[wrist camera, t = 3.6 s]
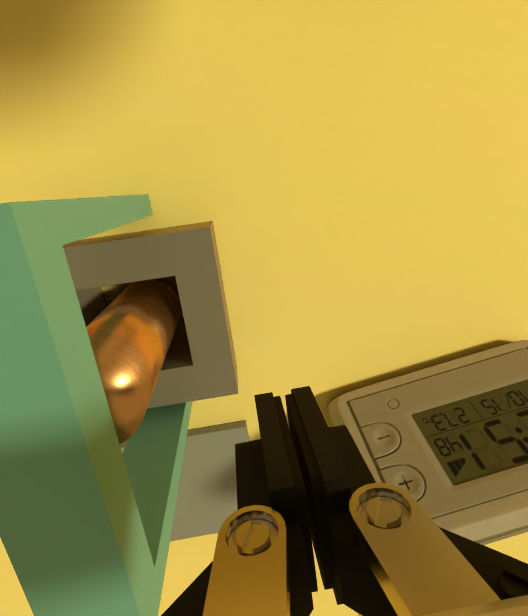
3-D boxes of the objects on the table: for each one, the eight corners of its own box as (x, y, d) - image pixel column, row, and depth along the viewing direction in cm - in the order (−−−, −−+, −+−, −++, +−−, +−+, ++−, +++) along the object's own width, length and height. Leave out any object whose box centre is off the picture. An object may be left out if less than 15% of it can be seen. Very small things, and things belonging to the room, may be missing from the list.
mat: (245, 420, 29) (246, 426, 28) (261, 516, 31) (262, 524, 31) (109, 443, 28) (106, 450, 28) (137, 538, 31) (135, 547, 30)
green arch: (148, 194, 23) (9, 202, 8) (192, 401, 28) (151, 652, 13) (97, 201, 23) (-136, 221, 8) (149, 408, 27) (58, 670, 12)
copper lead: (174, 274, 25) (131, 345, 14) (185, 332, 26) (155, 441, 15) (111, 283, 25) (15, 363, 14) (126, 341, 26) (49, 458, 15)
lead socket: (212, 221, 24) (210, 226, 21) (236, 365, 27) (238, 393, 24) (50, 244, 24) (17, 254, 20) (92, 388, 27) (70, 421, 23)
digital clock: (537, 331, 29) (704, 408, 19) (522, 435, 32) (661, 551, 22) (322, 355, 28) (377, 449, 18) (326, 460, 31) (375, 594, 20)
